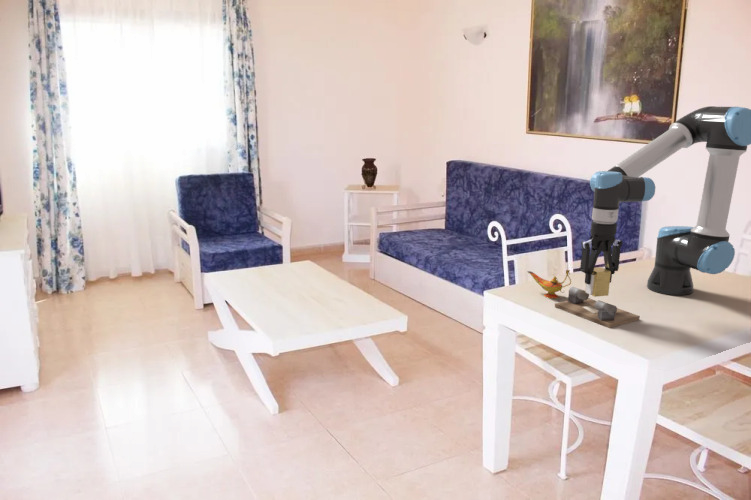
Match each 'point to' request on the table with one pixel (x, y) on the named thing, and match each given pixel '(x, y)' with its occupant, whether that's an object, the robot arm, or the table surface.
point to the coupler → (601, 281)
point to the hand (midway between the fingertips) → (596, 292)
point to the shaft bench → (595, 309)
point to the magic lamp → (550, 284)
